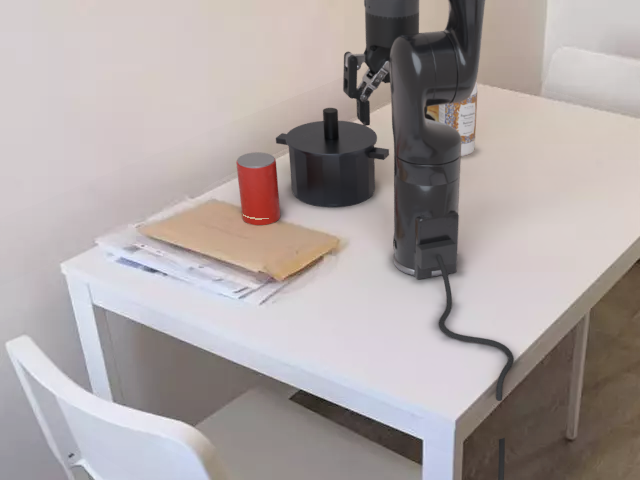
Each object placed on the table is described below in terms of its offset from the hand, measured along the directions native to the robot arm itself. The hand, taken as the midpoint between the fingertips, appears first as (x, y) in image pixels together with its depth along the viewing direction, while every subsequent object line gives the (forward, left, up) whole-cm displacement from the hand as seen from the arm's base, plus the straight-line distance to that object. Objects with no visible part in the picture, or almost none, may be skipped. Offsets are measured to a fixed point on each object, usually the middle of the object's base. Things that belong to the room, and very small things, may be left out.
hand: (392, 120), depth 131 cm
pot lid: (+16, +5, -8) cm, 18 cm away
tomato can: (+10, +19, -17) cm, 27 cm away
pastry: (+39, -24, -17) cm, 49 cm away
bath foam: (+25, -22, -17) cm, 37 cm away
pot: (+16, +5, -17) cm, 24 cm away
